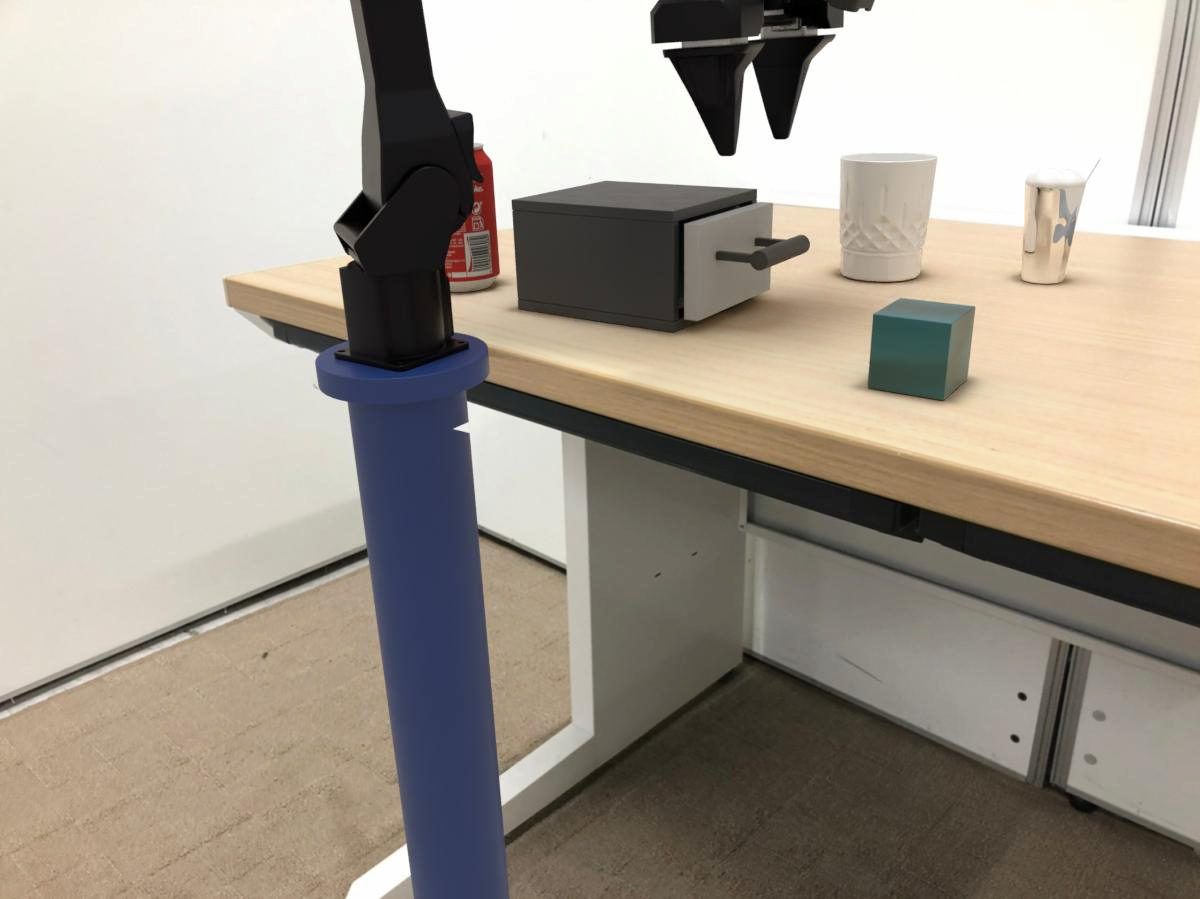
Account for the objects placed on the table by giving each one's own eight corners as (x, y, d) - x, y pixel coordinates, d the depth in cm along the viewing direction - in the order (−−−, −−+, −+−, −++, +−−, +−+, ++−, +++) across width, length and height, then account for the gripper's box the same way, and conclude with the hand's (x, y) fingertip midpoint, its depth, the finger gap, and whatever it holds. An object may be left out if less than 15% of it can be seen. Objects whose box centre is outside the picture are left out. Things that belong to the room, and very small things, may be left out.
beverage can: (492, 275, 91) (482, 140, 87) (507, 289, 86) (498, 145, 81) (424, 282, 89) (410, 144, 85) (435, 297, 84) (421, 150, 79)
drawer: (819, 295, 76) (824, 205, 74) (751, 329, 68) (753, 229, 65) (630, 273, 86) (628, 193, 84) (549, 300, 78) (544, 212, 75)
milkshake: (1077, 288, 80) (1097, 160, 76) (1007, 282, 82) (1023, 158, 78) (1085, 277, 83) (1105, 154, 79) (1018, 272, 86) (1034, 153, 82)
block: (943, 400, 56) (951, 323, 54) (867, 388, 58) (872, 313, 57) (967, 379, 59) (975, 306, 57) (894, 368, 62) (900, 297, 60)
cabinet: (754, 296, 80) (757, 188, 77) (673, 332, 71) (673, 211, 68) (608, 279, 88) (605, 180, 85) (517, 309, 79) (510, 199, 76)
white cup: (942, 272, 87) (954, 154, 83) (899, 288, 82) (910, 163, 78) (861, 261, 92) (869, 150, 88) (816, 276, 87) (822, 158, 83)
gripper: (820, -135, 52) (815, 166, 59) (920, -111, 67) (908, 130, 73) (639, -107, 58) (652, 165, 64) (767, -89, 72) (768, 132, 79)
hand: (755, 147), depth 70 cm, fingers open, 9 cm apart
